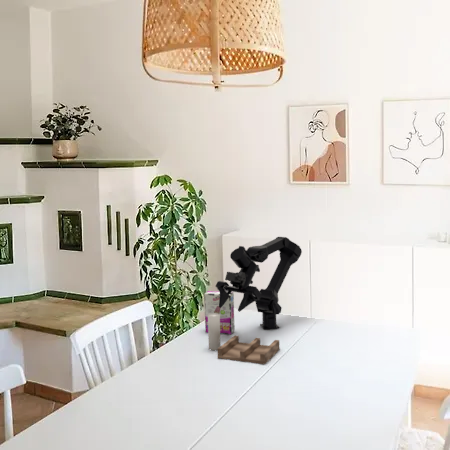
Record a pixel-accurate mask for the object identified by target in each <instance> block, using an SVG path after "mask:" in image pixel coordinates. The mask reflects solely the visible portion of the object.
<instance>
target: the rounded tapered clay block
mask: <svg viewBox="0 0 450 450" xmlns="http://www.w3.org/2000/svg"><path fill="white" fill-rule="evenodd" d="M207 334H208V350H209V349H211V350H210V351H212V350H216V351H218V348H219V347H220V346H222V345H221V344H222V343H221V334H220V314H218V313H210V314H208V333H207Z"/></svg>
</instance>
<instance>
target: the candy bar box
mask: <svg viewBox="0 0 450 450" xmlns="http://www.w3.org/2000/svg"><path fill="white" fill-rule="evenodd" d="M203 295H204V298H203V299H204V319H205V321H204V324H205V326H204V327H205V333H206V332H208V314H210V313H218V314H220V333H225V334H224V335H232V334H233V333H234V332H235V331H236V329H235V301H234V300H235V299H234V292H231V294H229V296H230V297H229V298H228V299H227V301H226V302H225V304H224V305H223V306H222V307H221V308H220V307H219V300H220V292H219V290H217V291H215V290H211V291H209V290H207V291H206V292H205V293H204V294H203Z"/></svg>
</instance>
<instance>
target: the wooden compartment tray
mask: <svg viewBox="0 0 450 450" xmlns="http://www.w3.org/2000/svg"><path fill="white" fill-rule="evenodd" d="M239 339H240V337H239V335H233V336H231V338H230V339H228V340H227V341H226V342H225V343H223V344H222V345H221V346H220V347H219V348H218V350H217V359H220V358H222V359H221V360H227V359H230V360H229V361H235V360H236V361H237V362H245V363H252V364H259V365H260V364H261V365H266V364H267V363H268V362H269V361H270V360H271V359H272V358H273V357H274V356H275V355H276V354H277V353H278V352H279V351H280V350H281V349H280V347H281V346H280V340H279V339H275V340H273V341H272V342H271V343H270V344H269V345H266V344H265V345H264V344H261V337H255V338H254V339H253V340H251V342H250V343H249V342H241V341H240V340H239Z"/></svg>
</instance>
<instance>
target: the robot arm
mask: <svg viewBox="0 0 450 450" xmlns="http://www.w3.org/2000/svg"><path fill="white" fill-rule="evenodd" d="M277 251H278V252H279V259H280V260H279V263H278V264H277V266H276V268H275V271H274V272H273V274H272V276H271V278H270V281H269V283H268V284H267V287H266V288H260V289H258V287H257V286H255V285H254V286H253V283H254V281H253V278H254V276H255V273H257V272H258V273H260V271H261V270H260V265H259V264H256V263H260V264H261V263H264V262H265V261H266V260H267V259H268V257H269V256H270V255H271V254H273V253H275V252H277ZM302 253H303V251H302V248H301V246H300V245H298V243H296V242H294V241H292V240H290V239H289V238H288V237H286V236H277V237H275V238H274V239H272V240H270V241H268V242H266V243H264V244H262V245H254V246H253V245H252V246H250V247H248V248H247V249H246V248H245V247H244V246H242V245H239V246H238V247H237V248H235V249H234V250H233V251H231V253H230V259H231V260H232V261H233V263H234V264H235V265H236V267H237V268H239V272H233V271H227V272H226V274H225V281H222V280H219V281H217V283H216V285H215V288H216V289H217V291H218V292H220V300H219V307H220V308H221V307H222V306H223V305H224V304H225V302H226V301H227V299H228V298H229V297H230V296H229V294H231V292H233V293H239V294H243V296H242V299H241V301H240V303H239V305H238V307H237V312H238V313H239V312H241V311H243V310H244V309H245V308H247V307H248V306H249V305H251V304H253V303H254V302H255V306H256V307H255V308H256V310H257V312H258V313H262V314H261V317H262V323H260V325H259V326H260V327H261V328H262V329H263V330H273V329H275V330H276V329H279V328H280V326H279V325H278V324H277V315H280V314H281V312H282V306H281V305H280V304H279V294H278V293H279V291H280V290H281V287H282V286H283V284H284V281H285V279H286V276H288V273H289V271H290V269H291V266H293V264H296V263H297V262H298V260H299V258H300V257H301V255H302ZM226 281H229V283H228V282H226ZM231 285H232V286H231Z"/></svg>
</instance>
